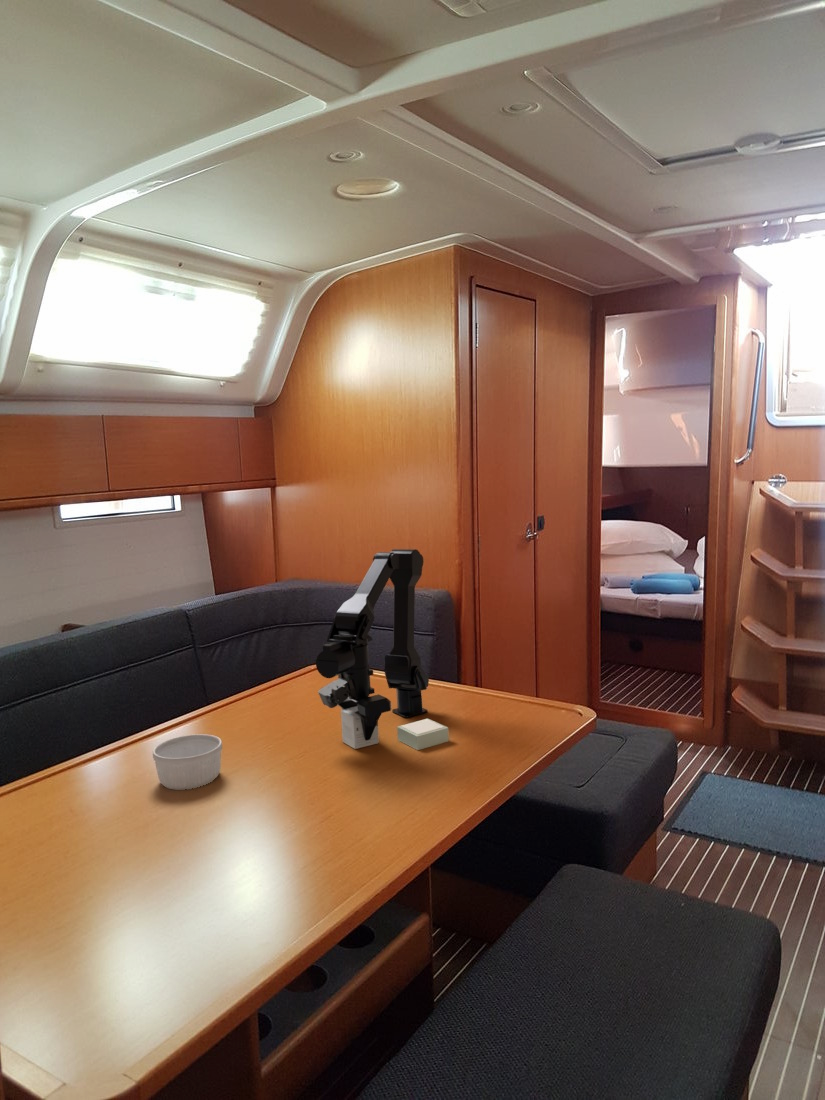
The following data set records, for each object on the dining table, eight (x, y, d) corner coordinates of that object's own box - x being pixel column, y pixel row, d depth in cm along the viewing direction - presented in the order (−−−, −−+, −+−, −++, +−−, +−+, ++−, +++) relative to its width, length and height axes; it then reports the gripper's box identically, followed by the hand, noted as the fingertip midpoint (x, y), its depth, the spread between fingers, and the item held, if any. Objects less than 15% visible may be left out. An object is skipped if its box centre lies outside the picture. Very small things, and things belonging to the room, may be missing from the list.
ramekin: (237, 776, 152) (235, 742, 151) (177, 799, 142) (174, 763, 142) (201, 761, 161) (198, 729, 160) (143, 782, 151) (139, 748, 151)
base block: (397, 739, 167) (397, 725, 166) (428, 731, 171) (427, 717, 170) (417, 750, 160) (416, 735, 160) (448, 741, 164) (448, 726, 164)
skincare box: (355, 750, 162) (352, 716, 161) (342, 742, 167) (339, 709, 166) (379, 743, 165) (377, 710, 164) (366, 735, 170) (364, 703, 170)
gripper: (303, 664, 168) (308, 733, 170) (342, 682, 152) (347, 757, 154) (348, 655, 174) (352, 721, 176) (390, 671, 158) (394, 744, 160)
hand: (360, 735), depth 166 cm, fingers closed on skincare box, 6 cm apart
